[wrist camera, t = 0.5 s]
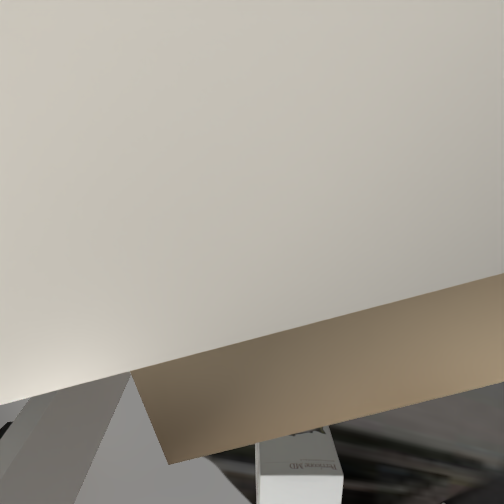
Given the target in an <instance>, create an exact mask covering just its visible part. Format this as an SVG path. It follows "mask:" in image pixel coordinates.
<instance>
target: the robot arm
mask: <svg viewBox="0 0 504 504" xmlns="http://www.w3.org/2000/svg"><path fill="white" fill-rule="evenodd" d="M130 375H131V374H130V372H129V371H128V372H125V373H121V374H117V375H113V376H109V377H105V378H102V379H98V380H94V381H90V382H86V383H83V384H79V385H75V386H71V387H67V388H63V389H60V390H56V391H52V392H48V393H44V394H41V395H37V396H33V397H31V398H30V399H29V400H28V402H27V403H26V405H25V406H24V407H23V409H22V410H21V412H20V413H19V415H18V416H17V417H16V419H15V420H14V421H13V422H7V423H6V424H5V425H4V426H3V427H2V428H1V429H0V504H74V502H75V500H76V497H77V495H78V493H79V491H80V488H81V486H82V484H83V482H84V479H85V477H86V475H87V473H88V470H89V468H90V466H91V463H92V461H93V459H94V457H95V454H96V452H97V450H98V448H99V445H100V443H101V441H102V439H103V436H104V434H105V432H106V429H107V427H108V425H109V423H110V420H111V418H112V416H113V414H114V412H115V409H116V407H117V405H118V403H119V400H120V398H121V396H122V393H123V391H124V389H125V387H126V384H127V382H128V380H129V378H130Z"/></svg>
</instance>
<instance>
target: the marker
mask: <svg viewBox="0 0 504 504" xmlns="http://www.w3.org/2000/svg"><path fill="white" fill-rule="evenodd" d="M502 273H504V0H0V405H2V404H6V403H10V402H14V401H18V400H22V399H25V398H29V397H33V396H37V395H41V394H44V393H48V392H52V391H56V390H60V389H63V388H67V387H71V386H75V385H79V384H83V383H86V382H90V381H94V380H98V379H102V378H105V377H109V376H113V375H117V374H121V373H125V372H128V371H132V370H136V369H140V368H144V367H147V366H151V365H155V364H159V363H163V362H166V361H170V360H174V359H178V358H182V357H186V356H189V355H193V354H197V353H201V352H205V351H208V350H212V349H216V348H220V347H224V346H227V345H231V344H235V343H239V342H243V341H247V340H250V339H254V338H258V337H262V336H266V335H269V334H273V333H277V332H281V331H285V330H289V329H292V328H296V327H300V326H304V325H308V324H311V323H315V322H319V321H323V320H327V319H330V318H334V317H338V316H342V315H346V314H350V313H353V312H357V311H361V310H365V309H369V308H372V307H376V306H380V305H384V304H388V303H392V302H395V301H399V300H403V299H407V298H411V297H414V296H418V295H422V294H426V293H430V292H433V291H437V290H441V289H445V288H449V287H453V286H456V285H460V284H464V283H468V282H472V281H475V280H479V279H483V278H487V277H491V276H495V275H498V274H502Z"/></svg>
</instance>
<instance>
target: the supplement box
mask: <svg viewBox="0 0 504 504" xmlns="http://www.w3.org/2000/svg"><path fill="white" fill-rule="evenodd" d="M255 460H256V502H257V504H341V500H342V490H343V478H344V476H343V472H342V469H341V465H340V462H339V459H338V455H337V452H336V449H335V446H334V442H333V439H332V436H331V432H330V429H329V426H328V425H327V426H323V427H319V428H315V429H311V430H307V431H303V432H299V433H295V434H291V435H287V436H283V437H279V438H275V439H271V440H267V441H263V442H259V443H255Z"/></svg>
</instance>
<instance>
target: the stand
mask: <svg viewBox="0 0 504 504" xmlns="http://www.w3.org/2000/svg"><path fill="white" fill-rule="evenodd" d="M130 372H131V375H132V377H133V379H134V382H135V384H136V387H137V389H138V392H139V394H140V397H141V399H142V401H143V404H144V406H145V408H146V411H147V413H148V416H149V418H150V421H151V423H152V426H153V428H154V431H155V433H156V435H157V438H158V440H159V443H160V445H161V447H162V450H163V452H164V455H165V457H166V460H167V462H168V464H169V465H170V464H174V463H178V462H182V461H186V460H190V459H194V458H198V457H202V456H206V455H210V454H214V453H218V452H222V451H226V450H231V449H235V448H239V447H243V446H247V445H251V444H255V443H259V442H263V441H267V440H271V439H275V438H279V437H283V436H287V435H291V434H295V433H299V432H303V431H307V430H311V429H315V428H319V427H323V426H327V425H331V424H335V423H339V422H343V421H347V420H351V419H355V418H359V417H363V416H367V415H372V414H376V413H380V412H384V411H388V410H392V409H396V408H400V407H404V406H408V405H412V404H416V403H420V402H424V401H428V400H432V399H436V398H440V397H444V396H448V395H452V394H456V393H460V392H464V391H468V390H472V389H476V388H480V387H484V386H488V385H492V384H496V383H500V382H504V273H502V274H498V275H495V276H491V277H487V278H483V279H479V280H475V281H472V282H468V283H464V284H460V285H456V286H453V287H449V288H445V289H441V290H437V291H433V292H430V293H426V294H422V295H418V296H414V297H411V298H407V299H403V300H399V301H395V302H392V303H388V304H384V305H380V306H376V307H372V308H369V309H365V310H361V311H357V312H353V313H350V314H346V315H342V316H338V317H334V318H330V319H327V320H323V321H319V322H315V323H311V324H308V325H304V326H300V327H296V328H292V329H289V330H285V331H281V332H277V333H273V334H269V335H266V336H262V337H258V338H254V339H250V340H247V341H243V342H239V343H235V344H231V345H227V346H224V347H220V348H216V349H212V350H208V351H205V352H201V353H197V354H193V355H189V356H186V357H182V358H178V359H174V360H170V361H166V362H163V363H159V364H155V365H151V366H147V367H144V368H140V369H136V370H132V371H130Z"/></svg>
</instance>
